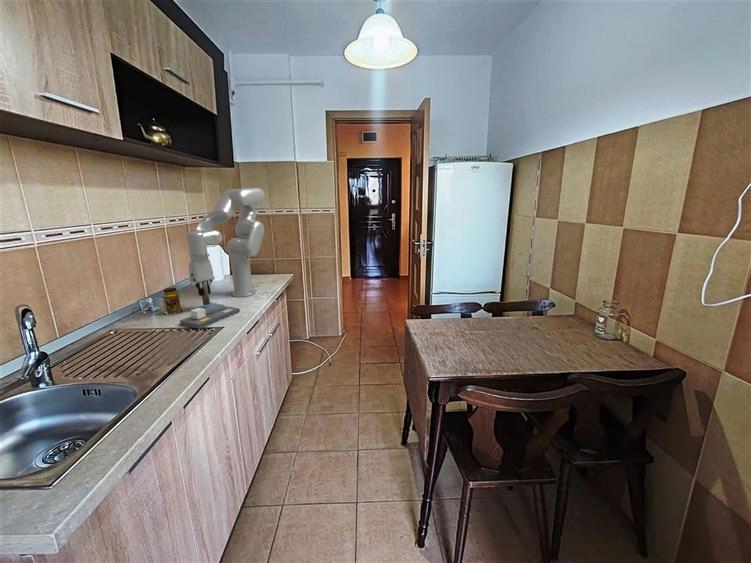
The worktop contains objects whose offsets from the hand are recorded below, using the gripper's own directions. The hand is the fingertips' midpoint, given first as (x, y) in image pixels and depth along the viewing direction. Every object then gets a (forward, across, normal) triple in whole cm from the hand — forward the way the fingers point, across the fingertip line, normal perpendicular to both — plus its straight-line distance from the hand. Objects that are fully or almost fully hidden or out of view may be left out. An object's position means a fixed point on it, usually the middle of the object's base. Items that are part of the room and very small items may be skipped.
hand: (204, 294), depth 165 cm
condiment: (+8, +10, -11) cm, 17 cm away
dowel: (+5, 0, 0) cm, 5 cm away
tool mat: (+7, 0, 0) cm, 7 cm away
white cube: (+5, +14, +13) cm, 20 cm away
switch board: (+7, +9, +14) cm, 18 cm away
